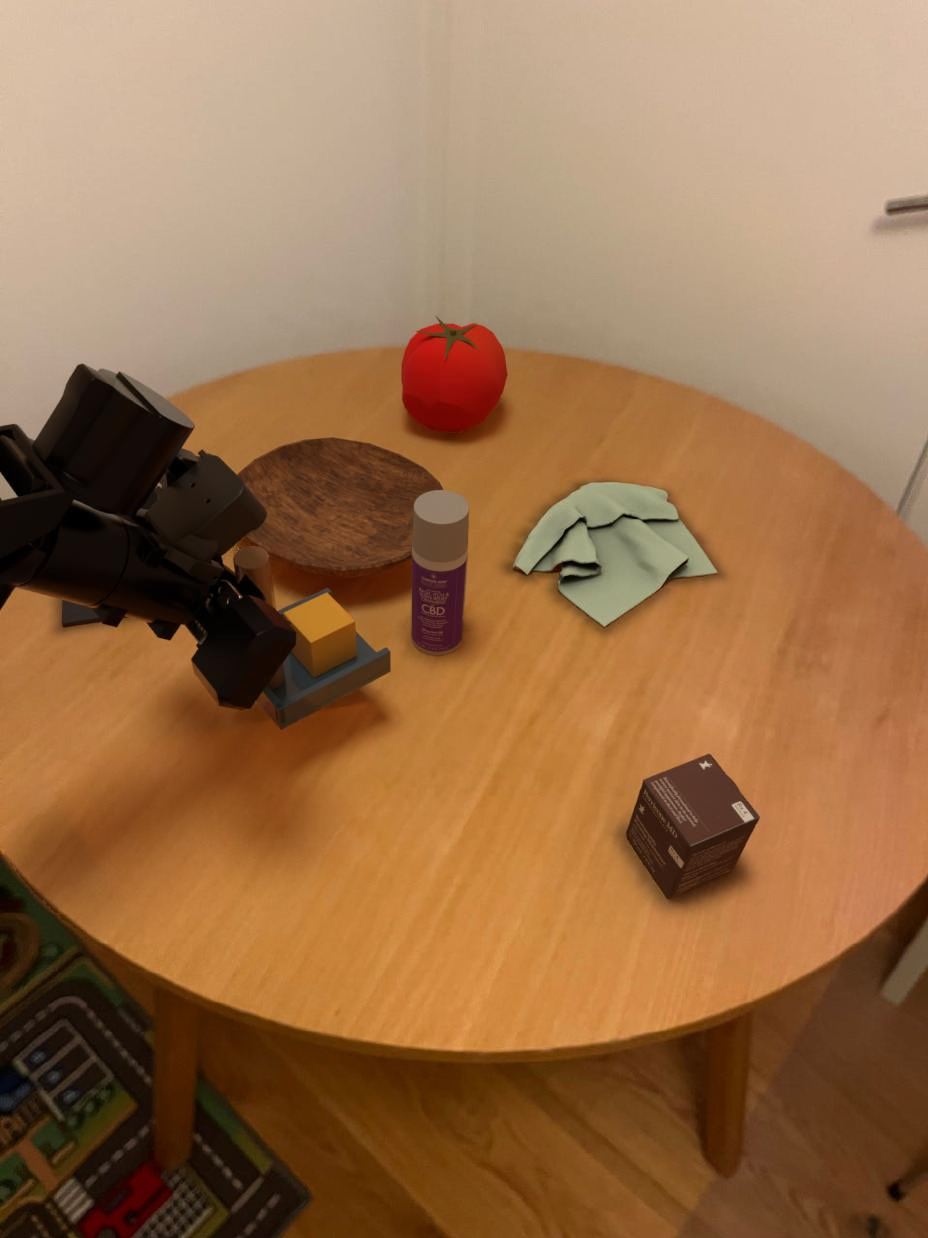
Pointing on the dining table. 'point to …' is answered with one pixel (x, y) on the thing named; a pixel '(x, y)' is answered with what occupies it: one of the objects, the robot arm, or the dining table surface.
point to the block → (322, 634)
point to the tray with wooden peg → (292, 683)
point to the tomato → (452, 376)
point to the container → (439, 571)
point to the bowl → (336, 505)
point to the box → (690, 824)
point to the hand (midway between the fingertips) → (277, 616)
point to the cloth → (613, 547)
